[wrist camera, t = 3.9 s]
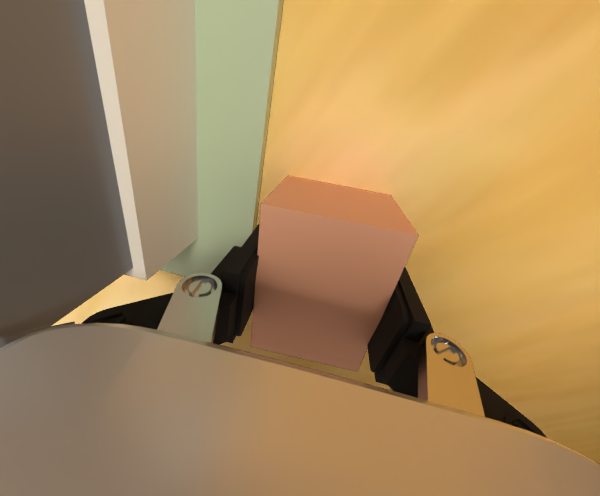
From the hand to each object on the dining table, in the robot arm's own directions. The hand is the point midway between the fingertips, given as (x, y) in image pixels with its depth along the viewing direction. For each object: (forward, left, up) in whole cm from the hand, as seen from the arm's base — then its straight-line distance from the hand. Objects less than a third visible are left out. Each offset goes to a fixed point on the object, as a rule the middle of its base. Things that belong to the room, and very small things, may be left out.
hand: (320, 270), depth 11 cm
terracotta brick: (0, 0, -2) cm, 2 cm away
